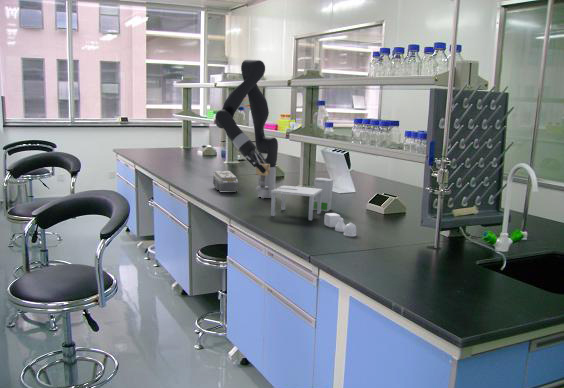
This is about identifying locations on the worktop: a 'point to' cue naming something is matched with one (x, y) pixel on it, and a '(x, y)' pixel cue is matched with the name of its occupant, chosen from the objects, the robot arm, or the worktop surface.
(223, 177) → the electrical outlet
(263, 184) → the tan block with stem
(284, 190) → the white slotted table
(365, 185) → the worktop surface
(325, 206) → the skincare box
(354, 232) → the container set
